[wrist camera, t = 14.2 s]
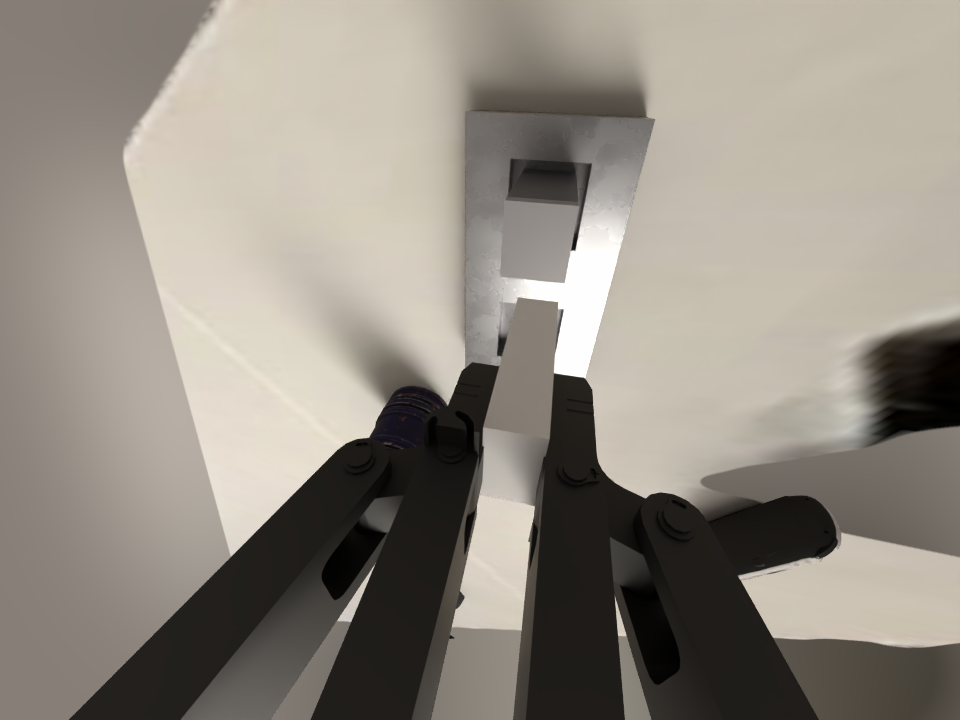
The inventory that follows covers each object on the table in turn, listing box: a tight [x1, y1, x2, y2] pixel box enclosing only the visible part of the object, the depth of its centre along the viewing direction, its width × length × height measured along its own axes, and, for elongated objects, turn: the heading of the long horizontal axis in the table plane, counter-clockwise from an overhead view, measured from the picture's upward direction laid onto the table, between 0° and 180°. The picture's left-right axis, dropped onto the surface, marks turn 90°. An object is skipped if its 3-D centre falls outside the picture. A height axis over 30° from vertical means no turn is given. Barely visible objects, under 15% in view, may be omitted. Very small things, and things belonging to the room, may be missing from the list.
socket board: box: [465, 110, 655, 378], centre depth 36 cm, size 14×26×4 cm, turn 178°
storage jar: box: [369, 386, 447, 450], centre depth 48 cm, size 10×10×15 cm
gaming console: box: [709, 496, 841, 580], centre depth 50 cm, size 19×9×2 cm
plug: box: [500, 169, 579, 284], centre depth 27 cm, size 4×5×12 cm
